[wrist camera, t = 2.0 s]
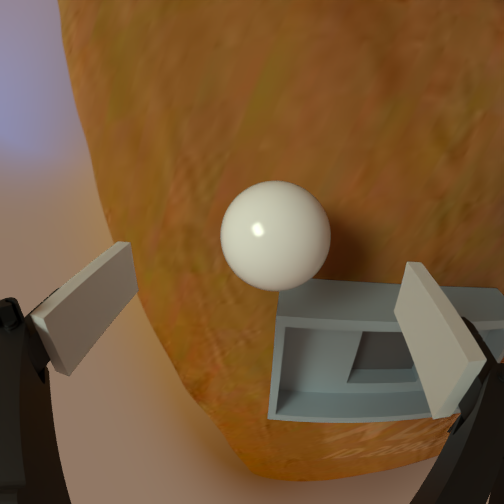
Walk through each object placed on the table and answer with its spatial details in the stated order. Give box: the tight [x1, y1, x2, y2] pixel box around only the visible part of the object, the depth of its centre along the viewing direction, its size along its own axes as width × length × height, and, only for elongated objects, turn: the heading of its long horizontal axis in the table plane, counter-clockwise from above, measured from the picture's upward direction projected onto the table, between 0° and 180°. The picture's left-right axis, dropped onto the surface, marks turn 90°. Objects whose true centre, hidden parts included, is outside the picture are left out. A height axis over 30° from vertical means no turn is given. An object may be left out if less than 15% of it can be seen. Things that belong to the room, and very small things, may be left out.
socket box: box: [268, 279, 504, 423], centre depth 26 cm, size 14×24×6 cm, turn 90°
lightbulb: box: [220, 181, 331, 291], centre depth 19 cm, size 6×6×11 cm
